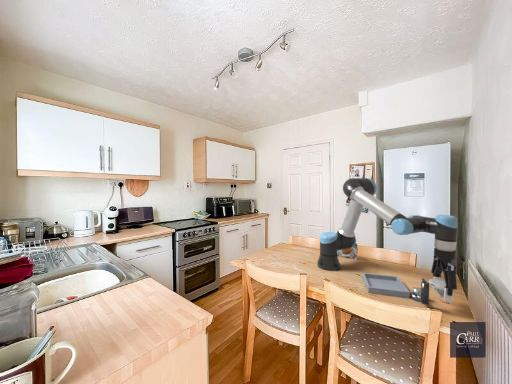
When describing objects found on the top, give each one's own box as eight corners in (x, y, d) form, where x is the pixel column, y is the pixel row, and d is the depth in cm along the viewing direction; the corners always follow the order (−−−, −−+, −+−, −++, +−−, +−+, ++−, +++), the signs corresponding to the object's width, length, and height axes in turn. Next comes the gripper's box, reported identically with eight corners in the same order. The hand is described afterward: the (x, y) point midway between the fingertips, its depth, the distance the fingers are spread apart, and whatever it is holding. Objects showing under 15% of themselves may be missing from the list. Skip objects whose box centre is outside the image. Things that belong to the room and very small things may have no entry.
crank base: (412, 300, 106) (413, 297, 106) (408, 294, 112) (408, 291, 112) (427, 302, 104) (427, 298, 104) (421, 296, 110) (422, 292, 110)
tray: (368, 292, 114) (368, 287, 114) (362, 277, 132) (362, 272, 132) (409, 298, 109) (409, 292, 109) (397, 281, 127) (397, 276, 127)
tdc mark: (442, 302, 104) (442, 301, 104) (440, 301, 106) (440, 300, 106) (449, 303, 104) (449, 302, 104) (448, 302, 105) (448, 301, 105)
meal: (336, 256, 169) (336, 240, 168) (337, 255, 172) (337, 239, 172) (356, 260, 160) (356, 243, 159) (357, 259, 163) (358, 242, 163)
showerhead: (463, 285, 96) (442, 286, 95) (461, 301, 96) (441, 302, 95) (442, 276, 105) (424, 276, 104) (442, 290, 105) (423, 291, 105)
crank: (411, 291, 110) (411, 271, 110) (420, 293, 109) (421, 272, 109) (422, 305, 99) (422, 282, 98) (432, 306, 97) (433, 284, 97)
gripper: (470, 258, 87) (467, 311, 89) (442, 242, 108) (439, 285, 110) (448, 256, 89) (445, 307, 91) (424, 241, 110) (422, 283, 112)
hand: (442, 295), depth 100 cm, fingers closed on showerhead, 9 cm apart
